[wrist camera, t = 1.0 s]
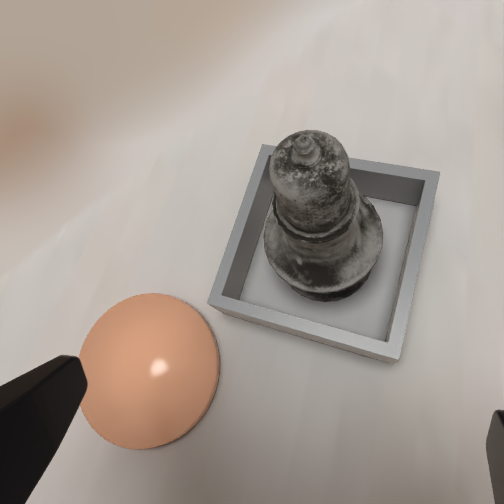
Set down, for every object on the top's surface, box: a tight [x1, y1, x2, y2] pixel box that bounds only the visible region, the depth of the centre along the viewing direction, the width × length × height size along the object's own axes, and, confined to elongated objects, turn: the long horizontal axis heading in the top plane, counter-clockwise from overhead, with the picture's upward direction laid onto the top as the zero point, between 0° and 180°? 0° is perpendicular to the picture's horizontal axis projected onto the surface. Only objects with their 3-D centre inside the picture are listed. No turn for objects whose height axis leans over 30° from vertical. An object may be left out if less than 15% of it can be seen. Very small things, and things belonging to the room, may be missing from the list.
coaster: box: [79, 293, 220, 449], centre depth 23 cm, size 8×8×1 cm
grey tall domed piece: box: [264, 130, 383, 302], centre depth 18 cm, size 6×6×12 cm
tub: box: [207, 144, 440, 364], centre depth 22 cm, size 10×10×3 cm
